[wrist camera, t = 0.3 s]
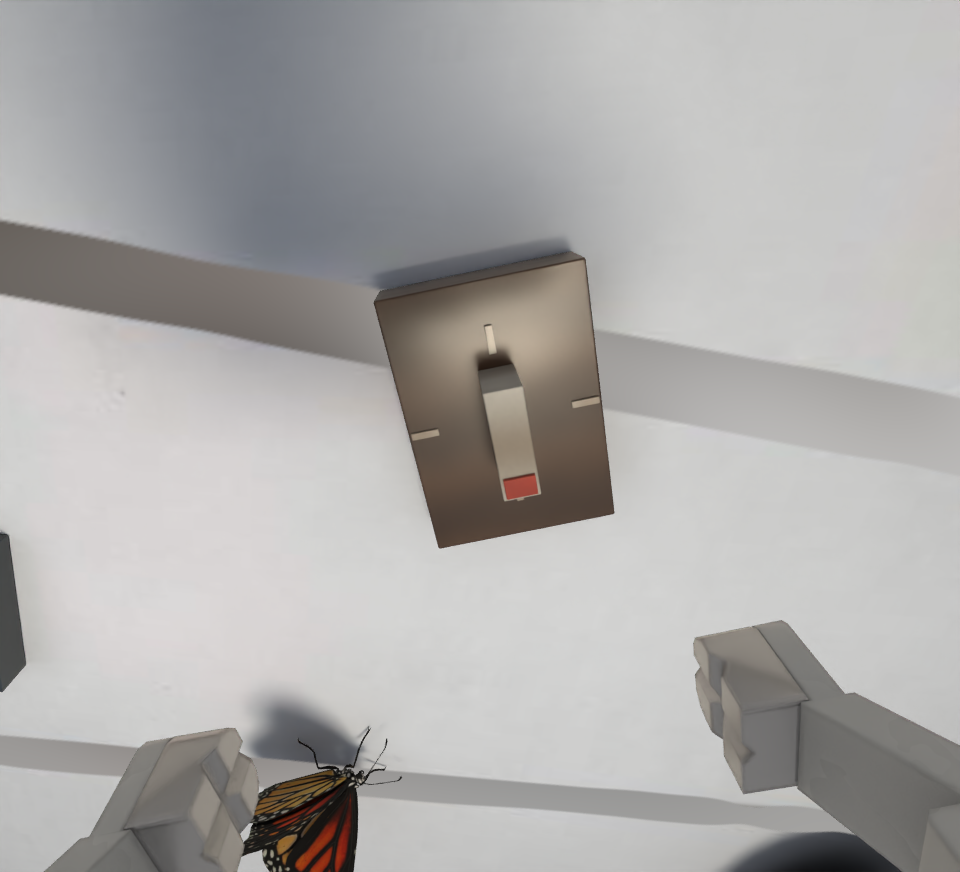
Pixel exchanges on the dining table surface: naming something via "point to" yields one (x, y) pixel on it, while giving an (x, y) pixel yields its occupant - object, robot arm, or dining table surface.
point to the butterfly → (309, 821)
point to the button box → (9, 620)
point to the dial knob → (510, 431)
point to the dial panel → (459, 401)
